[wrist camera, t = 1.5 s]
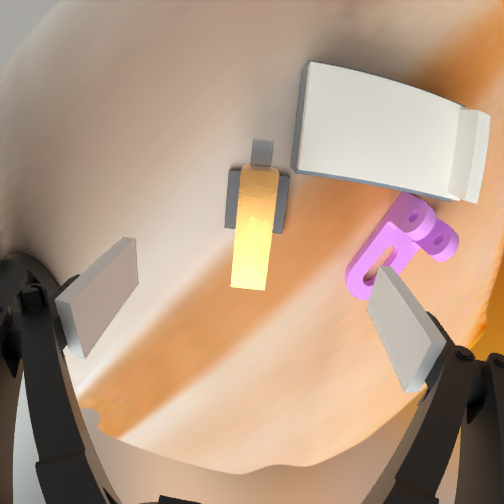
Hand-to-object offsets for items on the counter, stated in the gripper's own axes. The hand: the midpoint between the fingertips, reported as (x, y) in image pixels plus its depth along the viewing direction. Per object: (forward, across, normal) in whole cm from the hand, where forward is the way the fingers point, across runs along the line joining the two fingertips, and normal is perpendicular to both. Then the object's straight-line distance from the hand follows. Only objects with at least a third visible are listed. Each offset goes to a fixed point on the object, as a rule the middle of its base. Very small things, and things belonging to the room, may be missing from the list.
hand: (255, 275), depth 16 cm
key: (+16, 0, +1) cm, 16 cm away
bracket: (+17, +15, -4) cm, 23 cm away
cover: (+12, +11, +9) cm, 18 cm away
